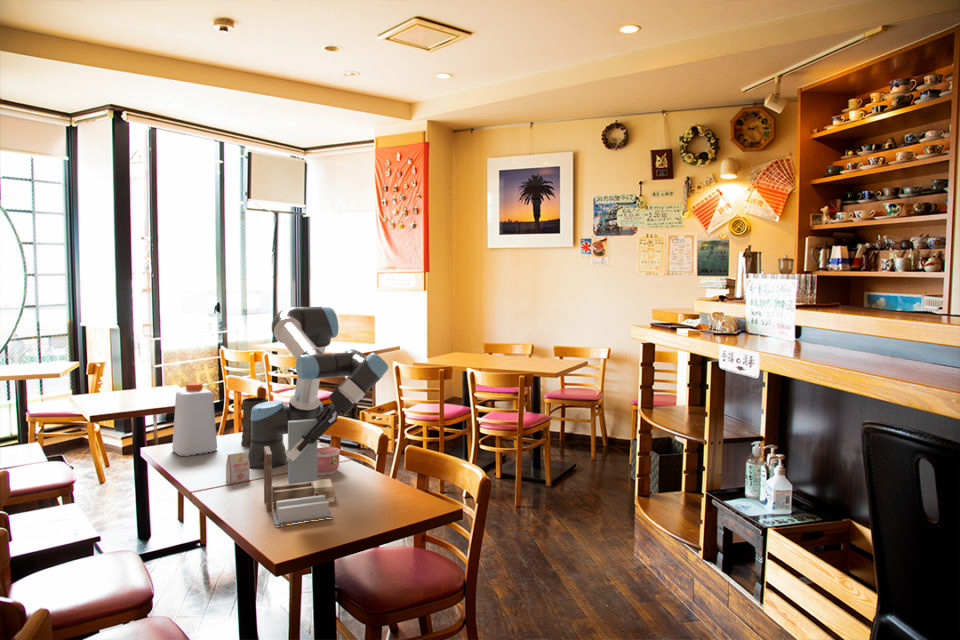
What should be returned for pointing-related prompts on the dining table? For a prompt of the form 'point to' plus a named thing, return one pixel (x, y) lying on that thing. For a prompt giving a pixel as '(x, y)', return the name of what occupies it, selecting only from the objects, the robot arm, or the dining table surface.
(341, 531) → the dining table surface
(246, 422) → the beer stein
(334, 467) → the container
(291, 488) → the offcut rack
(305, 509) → the slot stand
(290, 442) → the slate board
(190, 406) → the plastic bottle
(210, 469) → the dining table surface
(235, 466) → the tea bag
